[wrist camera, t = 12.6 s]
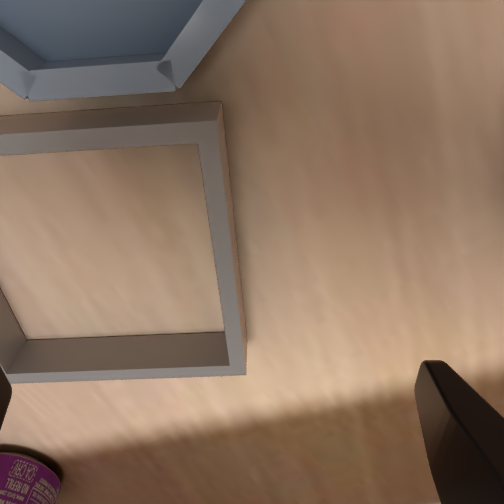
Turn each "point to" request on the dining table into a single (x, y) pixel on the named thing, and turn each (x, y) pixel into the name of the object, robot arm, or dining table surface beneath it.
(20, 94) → the ceramic bowl
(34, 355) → the open square frame
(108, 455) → the dining table surface
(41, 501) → the beverage can
